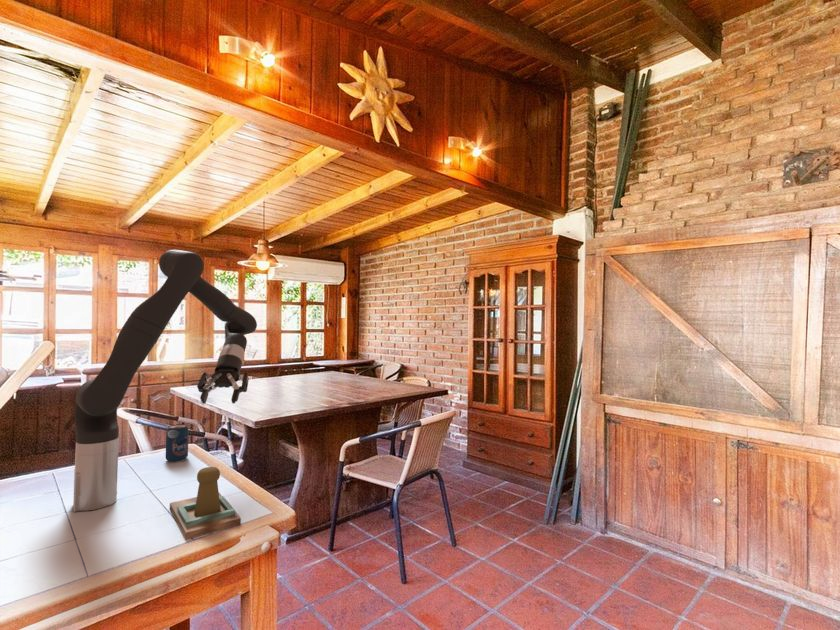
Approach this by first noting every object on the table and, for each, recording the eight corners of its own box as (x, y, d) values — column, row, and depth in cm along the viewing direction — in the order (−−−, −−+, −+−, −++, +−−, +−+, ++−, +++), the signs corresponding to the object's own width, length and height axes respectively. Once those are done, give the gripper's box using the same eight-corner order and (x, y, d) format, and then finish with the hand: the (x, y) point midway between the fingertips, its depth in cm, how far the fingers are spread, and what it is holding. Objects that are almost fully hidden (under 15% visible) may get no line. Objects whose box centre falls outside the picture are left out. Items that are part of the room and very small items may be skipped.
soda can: (175, 464, 146) (176, 429, 147) (160, 461, 149) (161, 427, 149) (192, 458, 153) (193, 424, 153) (178, 455, 155) (179, 422, 156)
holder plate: (185, 539, 97) (186, 527, 97) (169, 508, 112) (170, 498, 112) (240, 524, 104) (240, 513, 104) (218, 497, 120) (218, 487, 120)
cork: (213, 518, 104) (214, 472, 104) (189, 517, 104) (190, 472, 104) (225, 507, 110) (226, 464, 110) (201, 506, 110) (202, 464, 110)
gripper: (205, 353, 137) (190, 394, 126) (251, 353, 139) (240, 394, 128) (210, 367, 142) (196, 409, 131) (254, 368, 145) (244, 408, 133)
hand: (218, 401), depth 129 cm, fingers open, 8 cm apart
